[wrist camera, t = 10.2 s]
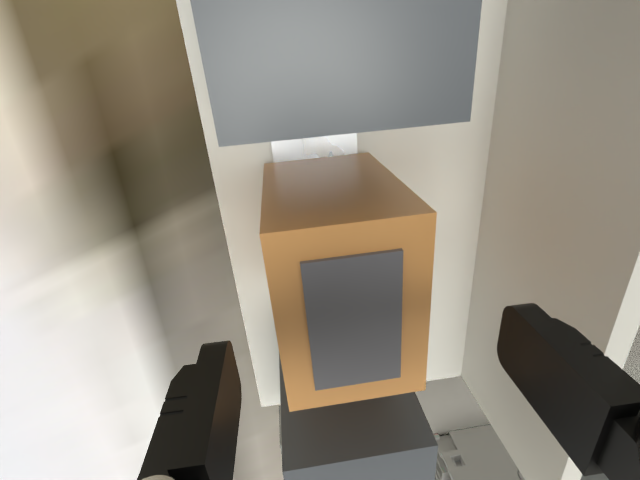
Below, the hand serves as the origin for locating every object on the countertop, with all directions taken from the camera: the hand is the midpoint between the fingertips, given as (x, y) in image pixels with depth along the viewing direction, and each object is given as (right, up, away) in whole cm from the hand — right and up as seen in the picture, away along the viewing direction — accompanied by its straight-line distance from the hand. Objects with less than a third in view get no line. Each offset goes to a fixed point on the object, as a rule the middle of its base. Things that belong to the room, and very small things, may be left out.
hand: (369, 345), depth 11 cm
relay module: (-1, +4, +8) cm, 9 cm away
